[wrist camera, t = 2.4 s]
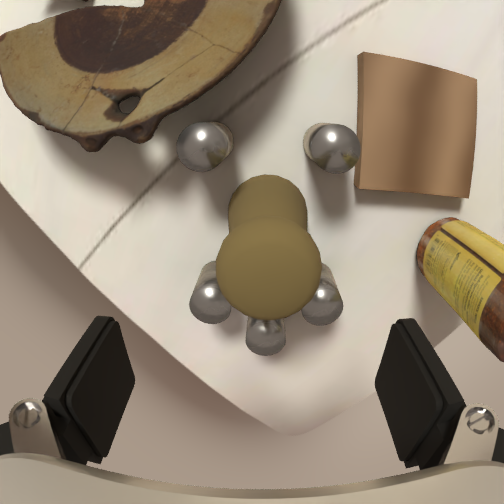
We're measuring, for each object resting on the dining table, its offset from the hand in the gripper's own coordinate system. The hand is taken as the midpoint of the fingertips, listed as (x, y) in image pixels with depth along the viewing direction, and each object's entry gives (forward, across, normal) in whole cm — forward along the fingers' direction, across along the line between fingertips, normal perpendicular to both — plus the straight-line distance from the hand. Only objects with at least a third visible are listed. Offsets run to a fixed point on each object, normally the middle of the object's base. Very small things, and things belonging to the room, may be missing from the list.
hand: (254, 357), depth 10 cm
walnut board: (+15, -12, -8) cm, 21 cm away
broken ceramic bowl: (+16, +8, -21) cm, 28 cm away
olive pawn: (+16, -1, 0) cm, 16 cm away
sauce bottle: (+15, -17, +2) cm, 23 cm away
